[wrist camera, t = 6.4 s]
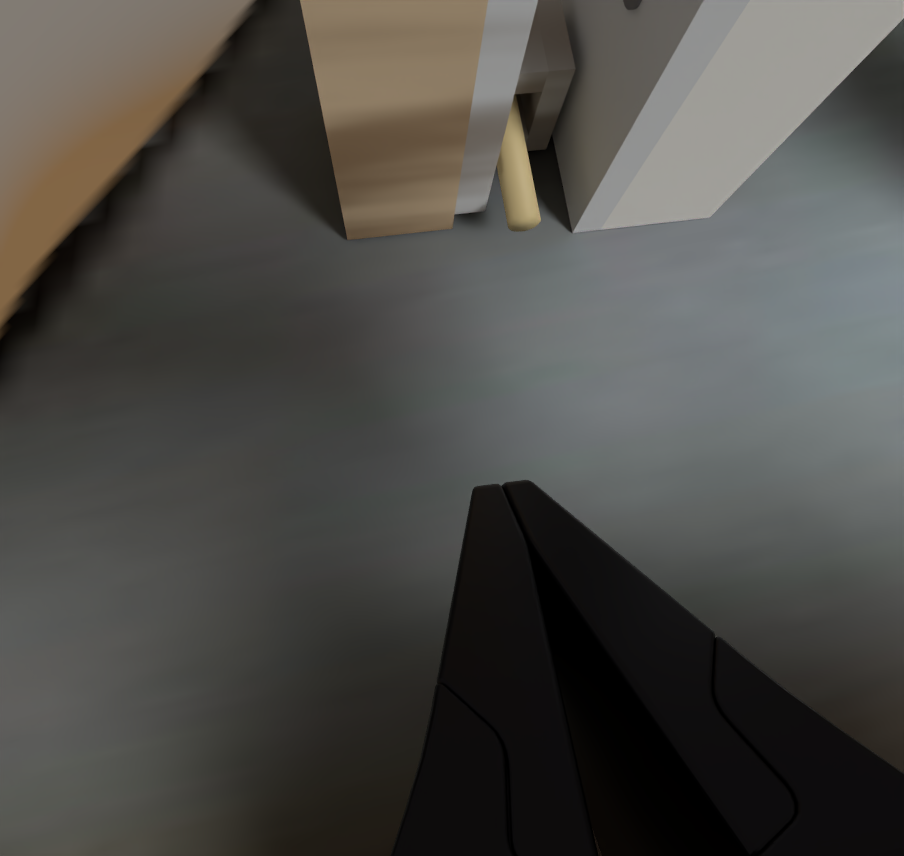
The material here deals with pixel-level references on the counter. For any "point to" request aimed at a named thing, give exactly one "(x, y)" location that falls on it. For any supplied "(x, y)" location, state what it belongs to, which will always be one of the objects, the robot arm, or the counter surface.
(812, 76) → the frame leaf
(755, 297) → the counter surface
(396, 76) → the light wood tall block
